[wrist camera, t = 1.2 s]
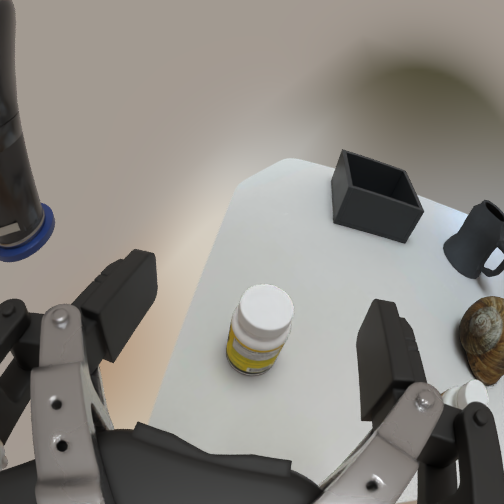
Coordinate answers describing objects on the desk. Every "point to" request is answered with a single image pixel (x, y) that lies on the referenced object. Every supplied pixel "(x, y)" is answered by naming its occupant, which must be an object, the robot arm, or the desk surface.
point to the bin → (374, 197)
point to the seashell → (484, 338)
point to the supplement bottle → (259, 329)
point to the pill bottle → (466, 394)
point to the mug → (477, 241)
